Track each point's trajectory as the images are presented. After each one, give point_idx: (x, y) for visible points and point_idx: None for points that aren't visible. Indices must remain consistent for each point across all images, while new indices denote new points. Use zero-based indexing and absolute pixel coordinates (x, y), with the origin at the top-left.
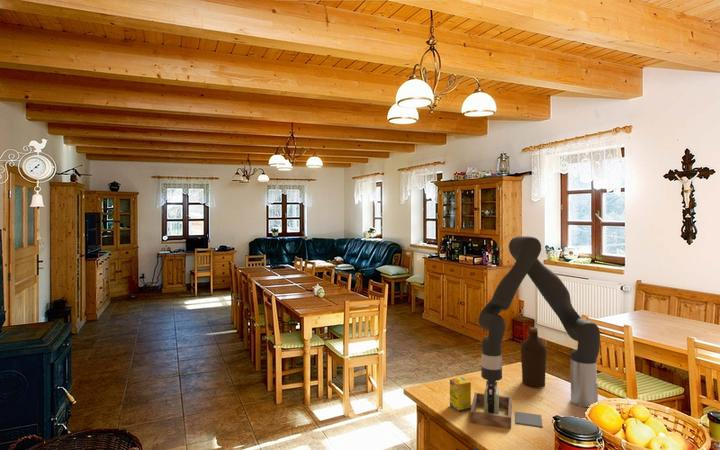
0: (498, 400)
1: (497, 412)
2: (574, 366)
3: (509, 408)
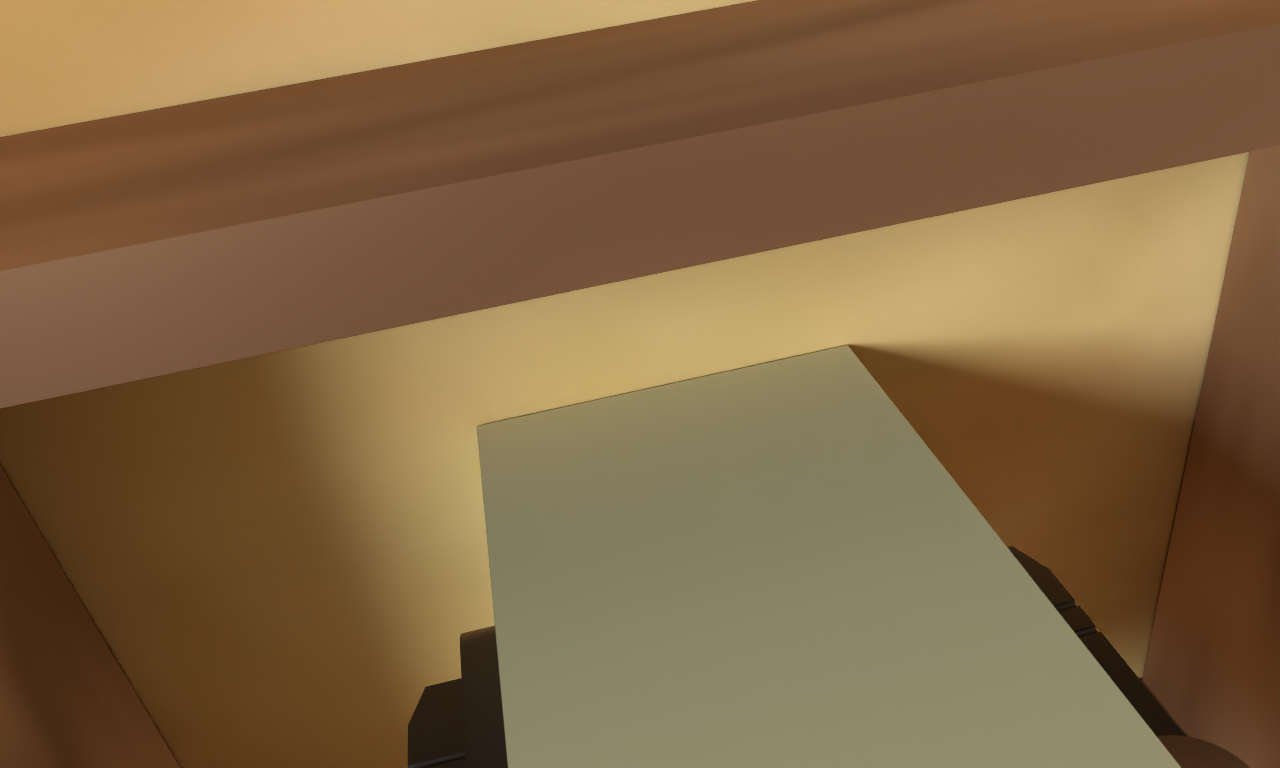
0: (916, 746)
1: (915, 457)
2: None
3: (934, 171)
